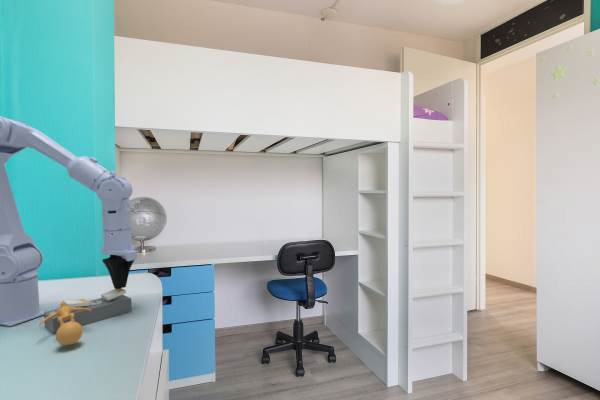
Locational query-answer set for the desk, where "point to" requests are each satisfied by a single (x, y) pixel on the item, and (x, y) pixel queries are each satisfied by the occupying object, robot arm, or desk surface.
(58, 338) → the figurine
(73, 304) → the near rocker
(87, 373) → the desk surface
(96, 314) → the power strip
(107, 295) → the far rocker
